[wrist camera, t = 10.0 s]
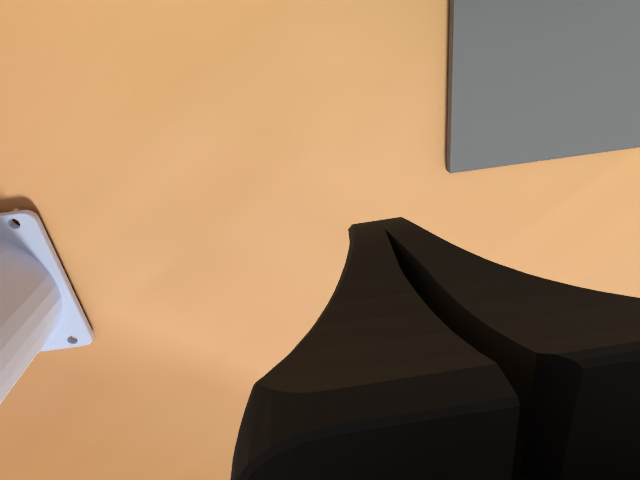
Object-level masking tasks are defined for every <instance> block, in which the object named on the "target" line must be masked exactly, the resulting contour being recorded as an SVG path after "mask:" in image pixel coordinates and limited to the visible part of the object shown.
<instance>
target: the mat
mask: <svg viewBox="0 0 640 480" xmlns="http://www.w3.org/2000/svg"><path fill="white" fill-rule="evenodd" d="M637 147H640V0H450V25H449V72H448V120H447V167H446V170H447V171H448V172H449V173H456V172H463V171H470V170H477V169H485V168H492V167H499V166H506V165H514V164H521V163H528V162H535V161H543V160H550V159H557V158H565V157H572V156H579V155H586V154H594V153H601V152H608V151H615V150H623V149H630V148H637Z"/></svg>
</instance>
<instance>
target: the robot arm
mask: <svg viewBox="0 0 640 480" xmlns="http://www.w3.org/2000/svg"><path fill="white" fill-rule="evenodd" d="M13 219H16V220H17V221H18V222H19V223H20V225H17V224H15V223H14V222H13ZM348 231H349V240H350V246H349V251H348V255H347V259H346V263H345V266H344V269H343V272H342V274H341V277H340V280H339V282H338V285H337V287H336V289H335V291H334V293H333V295H332V297H331V299H330V301H329V302H328V304H327V306H326V308H325V309H324V311H323V312H322V314H321V315H320V317H319V318H318V320H317V321H316V323H315V324H314V326H313V327H312V328H311V330H310V331H309V332H308V333H307V334H306V336H305V337H304V338H303V339H302V340H301V341H300V342H299V344H298V345H297V346H296V347H295V348H294V349H293V351H292V352H291V353H290V354H289V355H288V356H287V357H286V358H284V359H283V360H282V361H281V362H280V363H279V364H277V365H276V366H275V367H274V368H273V369H272V370H270V371H269V372H268V373H267V374H266V375H265V376H264V377H262V378H261V379H260V380H258V381H257V382H256V383H255V384H254V386H253V388H252V391H251V394H250V397H249V400H248V403H247V406H246V409H245V411H244V415H243V418H242V422H241V425H240V429H239V433H238V438H237V442H236V446H235V450H234V456H233V462H232V472H231V480H640V298H636V297H630V296H624V295H618V294H612V293H606V292H601V291H596V290H591V289H586V288H581V287H576V286H572V285H568V284H564V283H560V282H556V281H552V280H548V279H544V278H540V277H537V276H533V275H530V274H526V273H523V272H520V271H517V270H514V269H511V268H509V267H506V266H503V265H500V264H497V263H494V262H492V261H489V260H487V259H484V258H482V257H480V256H477V255H475V254H473V253H470V252H468V251H466V250H464V249H462V248H460V247H457V246H455V245H453V244H451V243H449V242H447V241H445V240H443V239H442V238H440V237H438V236H436V235H434V234H432V233H430V232H428V231H427V230H425V229H423V228H421V227H419V226H418V225H416V224H414V223H412V222H410V221H408V220H406V219H404V218H402V217H398V218H392V219H385V220H379V221H372V222H365V223H359V224H352V226H351V227H350V228H349V229H348ZM71 336H73V337H75V338H76V339H74V338H72V337H71ZM93 337H94V334H93V331H92V329H91V327H90V325H89V323H88V321H87V319H86V317H85V314H84V312H83V310H82V308H81V306H80V304H79V302H78V299H77V297H76V295H75V293H74V291H73V289H72V287H71V284H70V282H69V280H68V278H67V276H66V274H65V272H64V269H63V267H62V265H61V263H60V261H59V259H58V257H57V254H56V252H55V250H54V248H53V246H52V244H51V242H50V240H49V237H48V235H47V233H46V231H45V229H44V227H43V225H42V222H41V220H40V218H39V217H38V215H37V214H36V213H34V212H33V211H30V210H18V211H11V212H3V213H0V404H1V403H2V401H3V400H4V398H5V397H6V396H7V394H8V393H9V392H10V390H11V389H12V388H13V386H14V385H15V384H16V382H17V381H18V379H19V378H20V377H21V375H22V374H23V373H24V371H25V370H26V369H27V367H28V366H29V365H30V363H31V362H32V360H33V359H34V358H35V356H36V355H37V354H38V352H41V351H49V350H56V349H63V348H70V347H77V346H84V345H88V344H90V343H91V341H92V340H93Z"/></svg>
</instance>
